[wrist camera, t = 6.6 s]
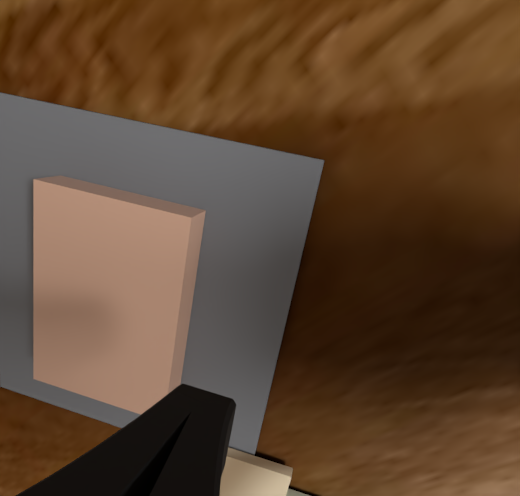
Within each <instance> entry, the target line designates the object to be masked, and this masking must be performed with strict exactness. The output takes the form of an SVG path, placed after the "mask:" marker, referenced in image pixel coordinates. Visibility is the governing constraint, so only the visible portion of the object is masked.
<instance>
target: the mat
mask: <svg viewBox="0 0 520 496" xmlns="http://www.w3.org/2000/svg"><path fill="white" fill-rule="evenodd" d="M323 164H324V160H321V159H316V158H311V157H306V156H302V155H297V154H292V153H287V152H283V151H278V150H273V149H268V148H263V147H259V146H254V145H249V144H244V143H240V142H235V141H230V140H225V139H220V138H216V137H211V136H206V135H201V134H197V133H192V132H187V131H182V130H177V129H173V128H168V127H163V126H158V125H154V124H149V123H144V122H139V121H134V120H130V119H125V118H120V117H115V116H111V115H106V114H101V113H96V112H91V111H87V110H82V109H77V108H72V107H68V106H63V105H58V104H53V103H48V102H44V101H39V100H34V99H29V98H25V97H20V96H15V95H10V94H6V93H1V92H0V387H3V388H6V389H9V390H12V391H15V392H18V393H21V394H23V395H26V396H29V397H32V398H35V399H38V400H41V401H44V402H47V403H50V404H53V405H56V406H59V407H62V408H64V409H67V410H70V411H73V412H76V413H79V414H82V415H85V416H88V417H91V418H94V419H97V420H100V421H103V422H106V423H108V424H111V425H114V426H117V427H120V428H123V427H125V426H126V425H127V424H129V423H130V422H132V421H133V420H134V419H136V418H137V417H138V416H140V415H141V414H138V413H135V412H132V411H129V410H126V409H123V408H120V407H117V406H114V405H111V404H107V403H104V402H101V401H98V400H95V399H92V398H89V397H86V396H83V395H80V394H77V393H74V392H71V391H68V390H65V389H62V388H59V387H56V386H53V385H50V384H47V383H44V382H41V381H38V380H35V379H33V179H38V178H45V177H53V176H60V175H61V176H65V177H69V178H73V179H78V180H82V181H86V182H90V183H94V184H98V185H103V186H107V187H111V188H115V189H119V190H123V191H128V192H132V193H136V194H140V195H144V196H148V197H153V198H157V199H161V200H165V201H169V202H173V203H178V204H182V205H186V206H190V207H194V208H198V209H203V210H206V213H205V220H204V227H203V233H202V240H201V247H200V254H199V261H198V268H197V274H196V281H195V288H194V295H193V302H192V309H191V316H190V322H189V329H188V336H187V343H186V350H185V357H184V363H183V370H182V377H181V384H187V385H190V386H193V387H196V388H200V389H203V390H206V391H209V392H212V393H216V394H219V395H222V396H225V397H229V398H232V399H233V400H234V401H235V403H236V410H235V415H234V420H233V426H232V431H231V436H230V441H229V448H232V449H235V450H238V451H241V452H244V453H248V454H251V455H254V456H255V452H256V447H257V443H258V439H259V435H260V431H261V426H262V422H263V418H264V414H265V409H266V405H267V401H268V397H269V392H270V388H271V384H272V380H273V376H274V371H275V367H276V363H277V359H278V354H279V350H280V346H281V342H282V338H283V333H284V329H285V325H286V321H287V316H288V312H289V308H290V304H291V299H292V295H293V291H294V287H295V283H296V278H297V274H298V270H299V266H300V261H301V257H302V253H303V249H304V244H305V240H306V236H307V232H308V228H309V223H310V219H311V215H312V211H313V206H314V202H315V198H316V194H317V189H318V185H319V181H320V177H321V173H322V168H323ZM181 384H180V385H181Z"/></svg>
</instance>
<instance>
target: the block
mask: <svg viewBox="0 0 520 496" xmlns="http://www.w3.org/2000/svg"><path fill="white" fill-rule="evenodd" d="M205 213H206V210H203V209H198V208H194V207H190V206H186V205H182V204H178V203H173V202H169V201H165V200H161V199H157V198H153V197H148V196H144V195H140V194H136V193H132V192H128V191H123V190H119V189H115V188H111V187H107V186H103V185H98V184H94V183H90V182H86V181H82V180H78V179H73V178H69V177H65V176H61V175H60V176H53V177H45V178H38V179H33V379H35V380H38V381H41V382H44V383H47V384H50V385H53V386H56V387H59V388H62V389H65V390H68V391H71V392H74V393H77V394H80V395H83V396H86V397H89V398H92V399H95V400H98V401H101V402H104V403H107V404H111V405H114V406H117V407H120V408H123V409H126V410H129V411H132V412H135V413H138V414H142V413H144V412H145V411H146V410H148V409H149V408H150V407H152V406H153V405H154V404H156V403H157V402H158V401H160V400H161V399H162V398H163V397H165V396H166V395H167V394H169V393H170V392H171V391H172V390H174V389H175V388H176V387H177V386H179V385H180V384H181V377H182V370H183V363H184V357H185V350H186V343H187V336H188V329H189V322H190V316H191V309H192V302H193V295H194V288H195V281H196V274H197V268H198V261H199V254H200V247H201V240H202V233H203V227H204V220H205Z"/></svg>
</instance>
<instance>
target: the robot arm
mask: <svg viewBox="0 0 520 496" xmlns="http://www.w3.org/2000/svg"><path fill="white" fill-rule="evenodd" d="M235 410H236V403H235V401H234V400H233V399H232V398H229V397H225V396H222V395H219V394H216V393H212V392H209V391H206V390H203V389H200V388H196V387H193V386H190V385H187V384H181V385H179V386H177V387H176V388H175V389H174V390H172V391H171V392H170V393H169V394H167V395H166V396H165V397H163V398H162V399H161V400H160V401H158V402H157V403H156V404H154V405H153V406H152V407H150V408H149V409H148V410H146V411H145V412H144V413H142V414H141V415H140V416H138V417H137V418H136V419H134V420H133V421H132V422H130V423H129V424H127V425H126V426H125V427H123V428H122V429H120V430H119V431H118V432H116V433H115V434H113V435H112V436H110V437H109V438H108V439H106V440H105V441H103V442H102V443H100V444H99V445H97V446H96V447H94V448H93V449H91V450H90V451H88V452H87V453H85V454H83V455H82V456H80V457H79V458H77V459H76V460H74V461H73V462H71V463H69V464H68V465H66V466H65V467H63V468H62V469H60V470H59V471H57V472H55V473H54V474H52V475H50V476H49V477H47V478H45V479H44V480H42V481H40V482H39V483H37V484H35V485H33V486H32V487H30V488H28V489H26V490H25V491H23V492H21V493H19V494H18V495H16V496H220V483H221V476H222V473H223V470H224V467H225V462H226V457H227V452H228V447H229V441H230V436H231V431H232V426H233V420H234V415H235Z"/></svg>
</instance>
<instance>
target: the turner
mask: <svg viewBox="0 0 520 496" xmlns="http://www.w3.org/2000/svg"><path fill="white" fill-rule="evenodd" d="M292 471H293V468H291V467H288V466H285V465H282V464H279V463H275V462H272V461H269V460H266V459H263V458H260V457H257V456H254V455H251V454H248V453H244V452H241V451H238V450H235V449H232V448H229V447H228V452H227V457H226V462H225V467H224V470H223V473H222V476H221V483H220V496H310V495H307V494H304V493H301V492H298V491H295V490H291V489H288V487H289V484H290V481H291V477H292Z"/></svg>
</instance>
